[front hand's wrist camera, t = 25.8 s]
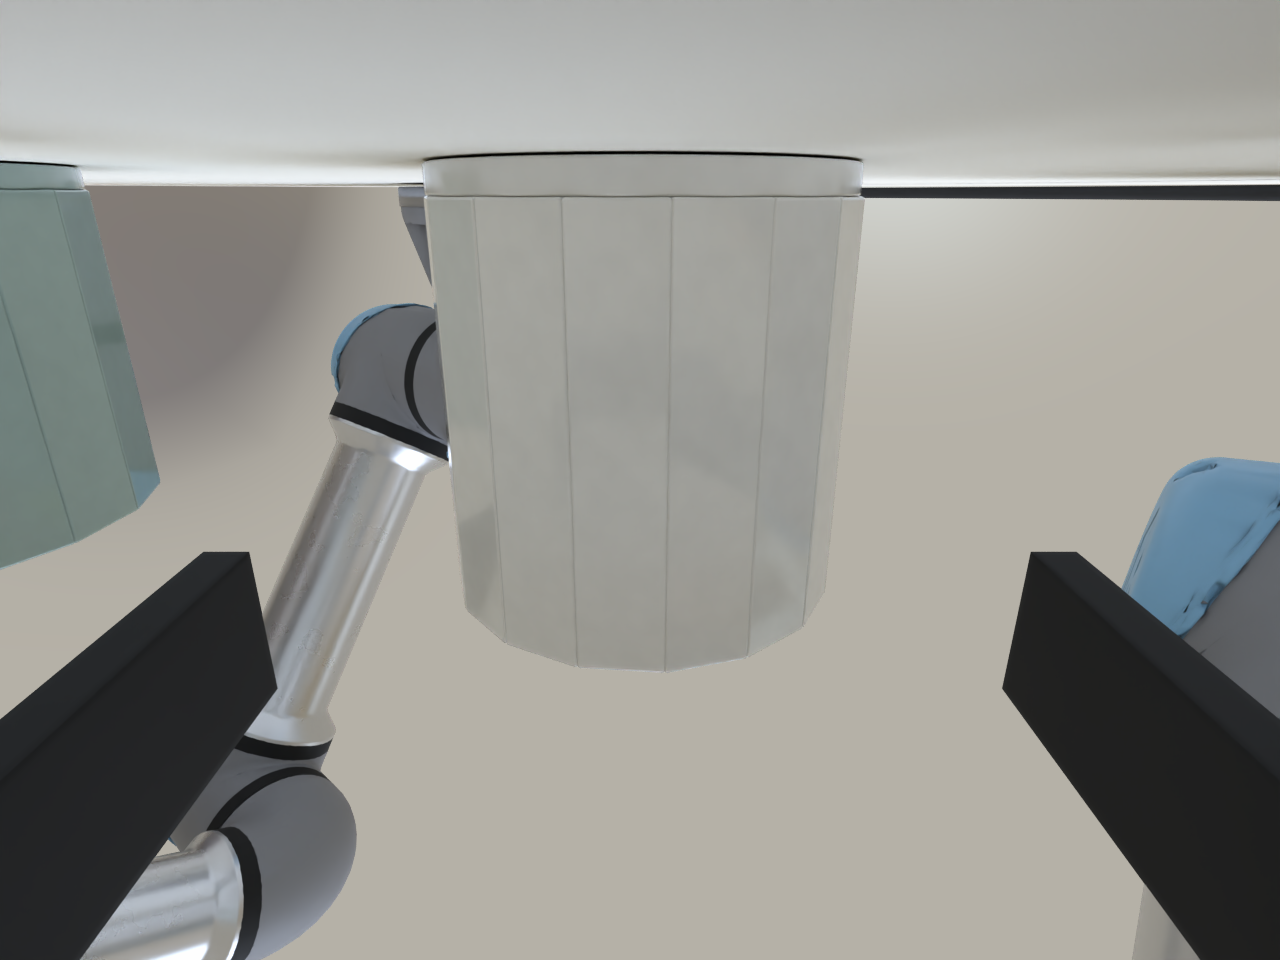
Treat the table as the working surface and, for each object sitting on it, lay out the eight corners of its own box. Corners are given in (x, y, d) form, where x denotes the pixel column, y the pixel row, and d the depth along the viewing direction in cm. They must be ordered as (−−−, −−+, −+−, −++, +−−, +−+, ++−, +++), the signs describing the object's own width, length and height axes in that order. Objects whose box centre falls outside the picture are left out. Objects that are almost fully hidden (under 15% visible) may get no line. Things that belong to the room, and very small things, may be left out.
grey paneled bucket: (748, 171, 23) (733, 486, 26) (415, 168, 20) (450, 519, 24) (967, 158, 14) (898, 631, 18) (430, 150, 11) (482, 707, 15)
